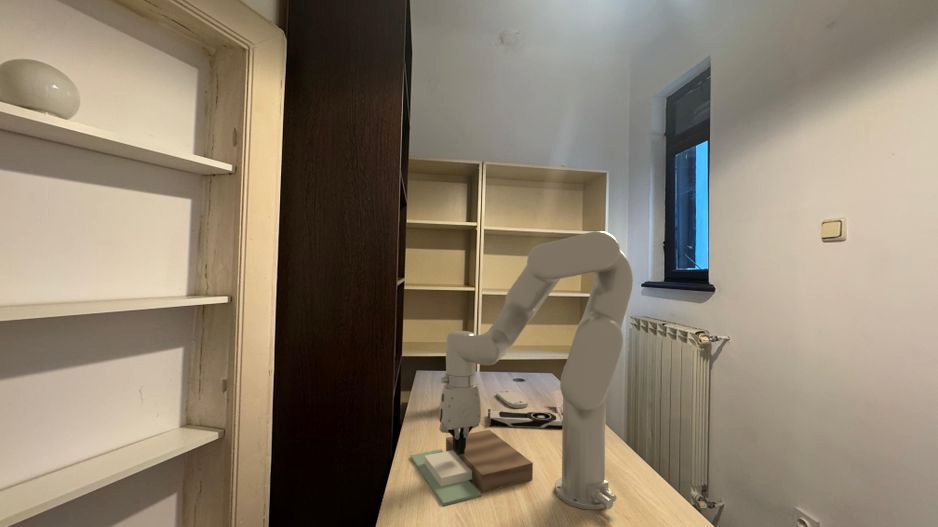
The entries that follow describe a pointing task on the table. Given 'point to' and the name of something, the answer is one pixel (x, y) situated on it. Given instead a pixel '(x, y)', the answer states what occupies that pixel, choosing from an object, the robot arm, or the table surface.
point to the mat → (448, 492)
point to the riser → (493, 461)
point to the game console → (512, 399)
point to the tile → (447, 468)
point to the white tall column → (559, 403)
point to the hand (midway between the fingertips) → (459, 452)
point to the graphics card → (524, 419)
